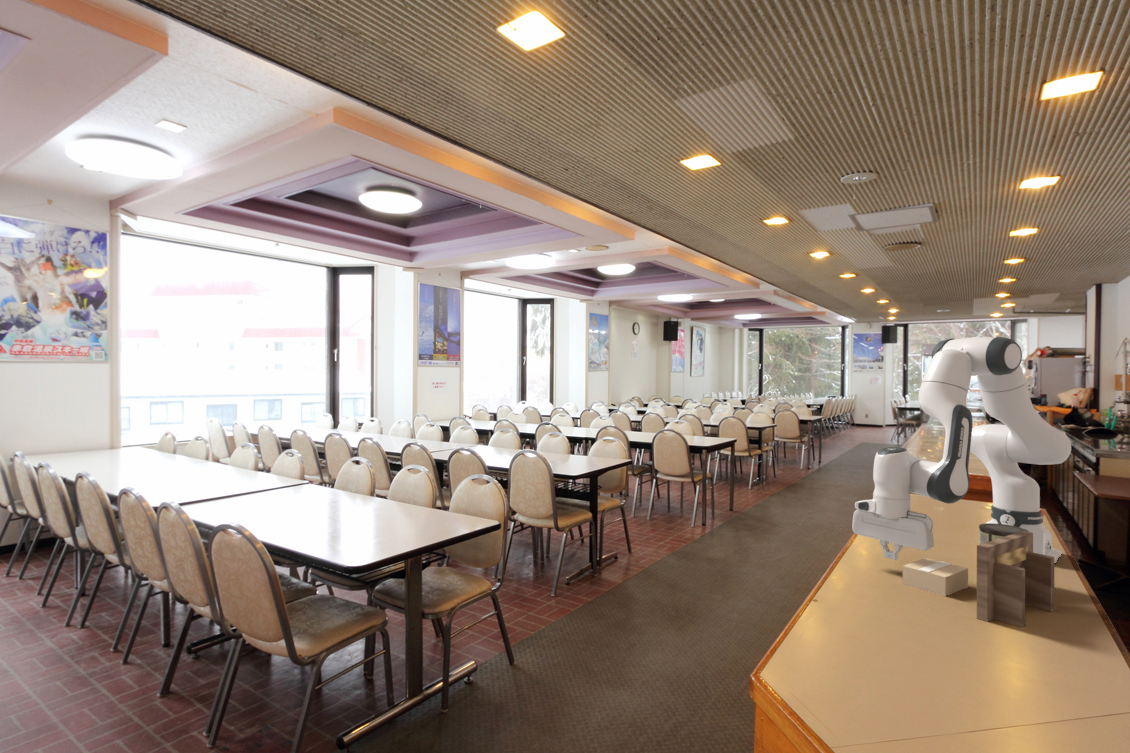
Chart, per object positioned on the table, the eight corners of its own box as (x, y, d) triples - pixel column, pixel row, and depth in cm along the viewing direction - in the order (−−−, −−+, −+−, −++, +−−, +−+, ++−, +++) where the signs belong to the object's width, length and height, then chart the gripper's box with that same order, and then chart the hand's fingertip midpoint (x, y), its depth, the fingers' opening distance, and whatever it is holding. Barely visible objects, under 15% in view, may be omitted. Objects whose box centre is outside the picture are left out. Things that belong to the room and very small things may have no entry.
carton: (925, 576, 153) (925, 557, 153) (968, 588, 144) (968, 567, 144) (902, 585, 146) (902, 564, 146) (945, 597, 138) (945, 576, 138)
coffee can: (1014, 576, 152) (1014, 524, 152) (1038, 590, 142) (1038, 534, 142) (971, 574, 154) (971, 522, 154) (991, 587, 144) (991, 531, 144)
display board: (1020, 596, 138) (1020, 530, 138) (1059, 606, 132) (1059, 537, 132) (974, 617, 125) (974, 545, 125) (1014, 630, 119) (1014, 553, 119)
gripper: (938, 513, 147) (938, 567, 147) (862, 499, 165) (861, 547, 164) (926, 516, 144) (926, 571, 144) (849, 501, 161) (848, 550, 161)
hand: (891, 558), depth 154 cm, fingers closed
